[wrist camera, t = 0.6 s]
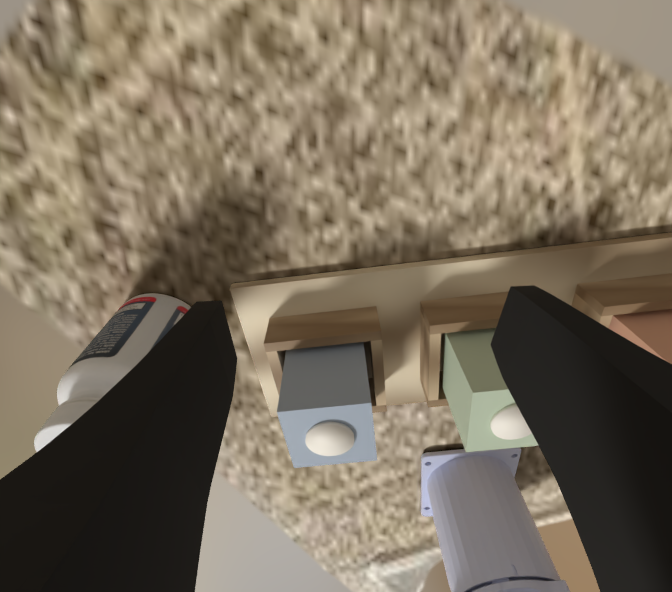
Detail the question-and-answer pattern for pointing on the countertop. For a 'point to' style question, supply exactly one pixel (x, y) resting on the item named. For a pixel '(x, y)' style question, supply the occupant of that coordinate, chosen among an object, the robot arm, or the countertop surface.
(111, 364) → the pill bottle
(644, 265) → the birch board
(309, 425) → the slate-blue block
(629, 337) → the terracotta block
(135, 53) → the countertop surface
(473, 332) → the sage block
